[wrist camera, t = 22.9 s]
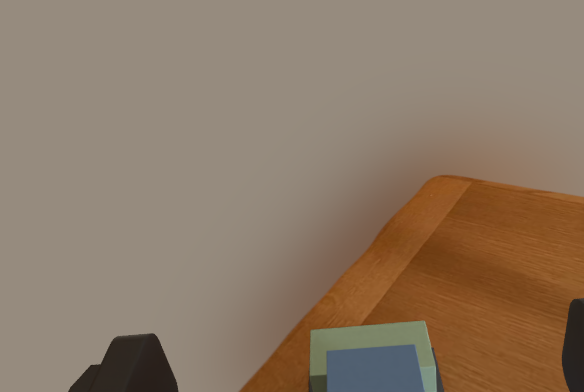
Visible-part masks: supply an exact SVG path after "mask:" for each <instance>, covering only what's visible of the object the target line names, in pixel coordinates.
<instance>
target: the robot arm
mask: <svg viewBox="0 0 584 392" xmlns="http://www.w3.org/2000/svg"><path fill="white" fill-rule="evenodd" d="M562 366H563V372H564V376H565V380H566V383H567V386H568V388H569V391H570V392H584V298H582V299H574V300H572V302H571V304H570V307H569V313H568V320H567V326H566V333H565V339H564V346H563V352H562ZM68 392H178V386H177V382H176V379H175V377H174V375H173V372H172V370H171V368H170V365H169V363H168V361H167V358H166V356H165V353H164V351H163V349H162V346H161V344H160V342H159V339H158V338H157V336H156V335H155V334H140V335H128V336H118V337H116V338H114V339H113V341H112V342H111V344H110V346H109V348H108V350H107V352H106V354H105V356H104V359H103V361H102V363H101V364H99V365H91V366H90V367H89V368H88V369H87V370H86V371H85V372H84V373H83V374H82V376H81V377H80V378H79V379H78V380H77V381H76V382H75V383H74V384H73V385H72V386H71V387H70V389H69V391H68Z"/></svg>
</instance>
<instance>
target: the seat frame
mask: <svg viewBox="0 0 584 392" xmlns="http://www.w3.org/2000/svg"><path fill="white" fill-rule="evenodd" d="M410 344H415V346H416V351H417V356H418V361H419V365H420V370H421V375H422V380H423V385H424V390H425V392H444V389H443V385H442V381H441V377H440V373H439V369H438V364H437V360H436V356H435V352H434V348H431V345H430V341H429V336H428V332H427V328H426V324H425V321H414V322H402V323H390V324H377V325H365V326H353V327H341V328H329V329H317V330H311V333H310V368H309V392H327V351H330V350H343V349H357V348H370V347H383V346H397V345H410Z"/></svg>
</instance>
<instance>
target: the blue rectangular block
mask: <svg viewBox="0 0 584 392" xmlns="http://www.w3.org/2000/svg"><path fill="white" fill-rule="evenodd" d="M327 392H425V390H424V385H423V380H422V375H421V370H420V365H419V361H418V356H417V351H416V346H415V344H410V345H397V346H383V347H370V348H357V349H343V350H330V351H327Z"/></svg>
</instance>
